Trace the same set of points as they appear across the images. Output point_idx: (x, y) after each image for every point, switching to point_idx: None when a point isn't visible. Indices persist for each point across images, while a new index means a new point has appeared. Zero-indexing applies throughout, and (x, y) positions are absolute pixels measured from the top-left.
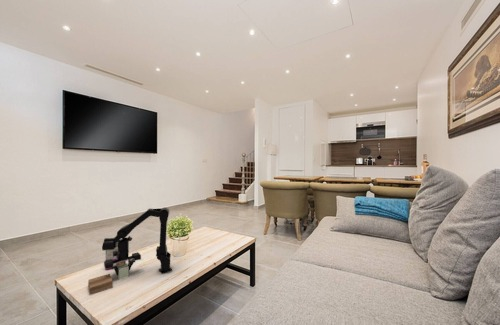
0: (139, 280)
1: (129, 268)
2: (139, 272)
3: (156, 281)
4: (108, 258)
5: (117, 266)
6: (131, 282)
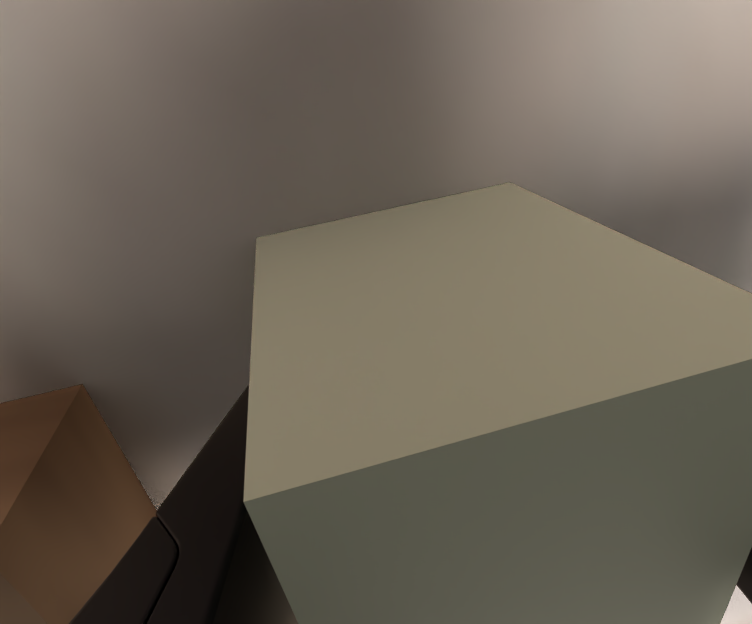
0: None
1: None
2: None
3: (739, 611)
4: None
5: (261, 540)
6: None
